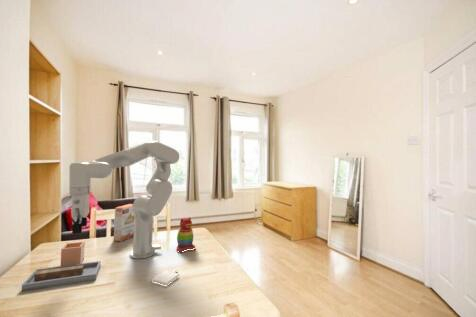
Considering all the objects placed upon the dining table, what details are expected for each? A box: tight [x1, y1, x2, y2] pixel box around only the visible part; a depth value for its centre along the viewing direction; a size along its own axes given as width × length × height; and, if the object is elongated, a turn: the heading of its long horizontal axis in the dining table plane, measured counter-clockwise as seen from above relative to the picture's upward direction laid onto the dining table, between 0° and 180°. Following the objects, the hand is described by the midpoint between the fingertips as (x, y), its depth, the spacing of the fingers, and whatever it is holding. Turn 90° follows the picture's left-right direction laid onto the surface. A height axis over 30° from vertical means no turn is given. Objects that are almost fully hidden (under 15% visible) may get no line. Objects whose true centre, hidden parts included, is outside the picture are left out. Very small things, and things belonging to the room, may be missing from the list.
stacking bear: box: [176, 217, 196, 253], centre depth 131 cm, size 11×10×18 cm
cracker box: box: [113, 203, 134, 243], centre depth 145 cm, size 14×6×21 cm, turn 168°
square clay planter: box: [60, 241, 86, 266], centre depth 108 cm, size 8×8×9 cm
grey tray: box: [21, 260, 102, 292], centre depth 95 cm, size 24×13×2 cm, turn 114°
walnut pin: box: [34, 265, 84, 282], centre depth 95 cm, size 8×3×16 cm
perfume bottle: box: [151, 268, 180, 285], centre depth 98 cm, size 8×2×12 cm
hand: (79, 229), depth 98 cm, fingers open, 9 cm apart
